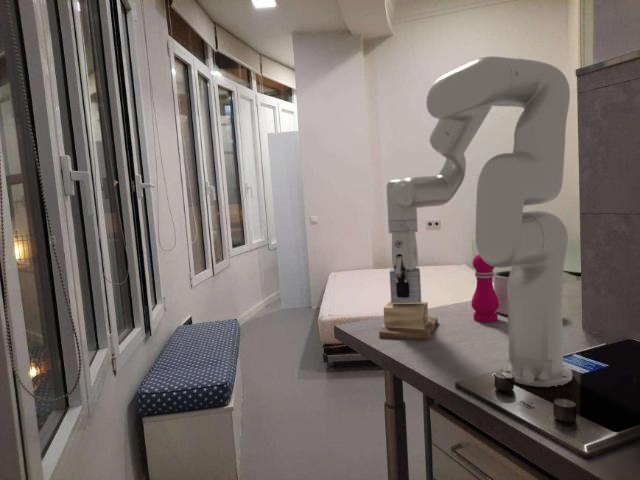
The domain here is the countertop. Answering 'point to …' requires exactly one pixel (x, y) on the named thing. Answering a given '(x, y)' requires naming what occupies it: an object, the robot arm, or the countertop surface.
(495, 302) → the pepper mill
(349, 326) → the countertop surface
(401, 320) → the oak block
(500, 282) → the planter
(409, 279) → the medicine box
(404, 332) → the board
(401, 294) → the robot arm
